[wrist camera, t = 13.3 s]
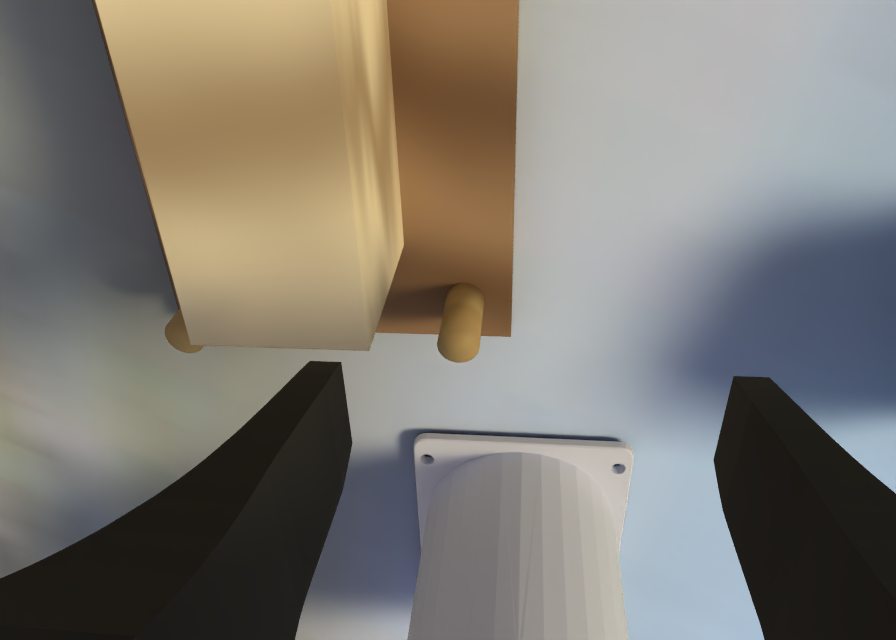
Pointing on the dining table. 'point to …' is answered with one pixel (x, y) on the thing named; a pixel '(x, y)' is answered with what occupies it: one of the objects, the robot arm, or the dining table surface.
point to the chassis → (443, 172)
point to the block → (266, 162)
